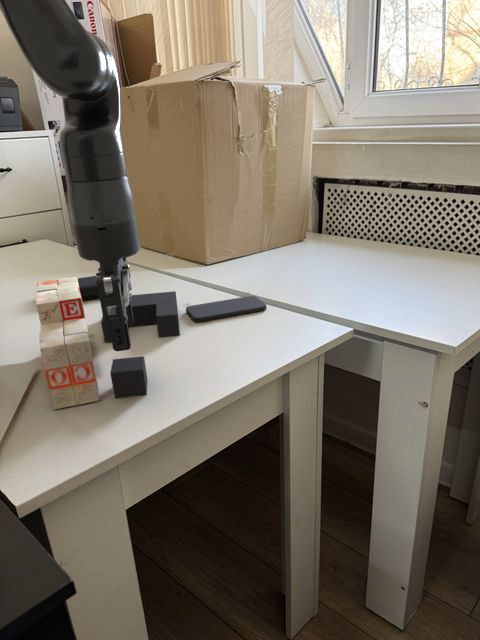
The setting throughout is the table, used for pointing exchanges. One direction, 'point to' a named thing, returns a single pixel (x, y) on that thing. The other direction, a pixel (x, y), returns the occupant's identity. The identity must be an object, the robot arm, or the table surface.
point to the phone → (225, 308)
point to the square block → (129, 377)
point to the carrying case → (88, 287)
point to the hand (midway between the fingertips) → (124, 336)
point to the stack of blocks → (65, 343)
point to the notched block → (152, 313)
